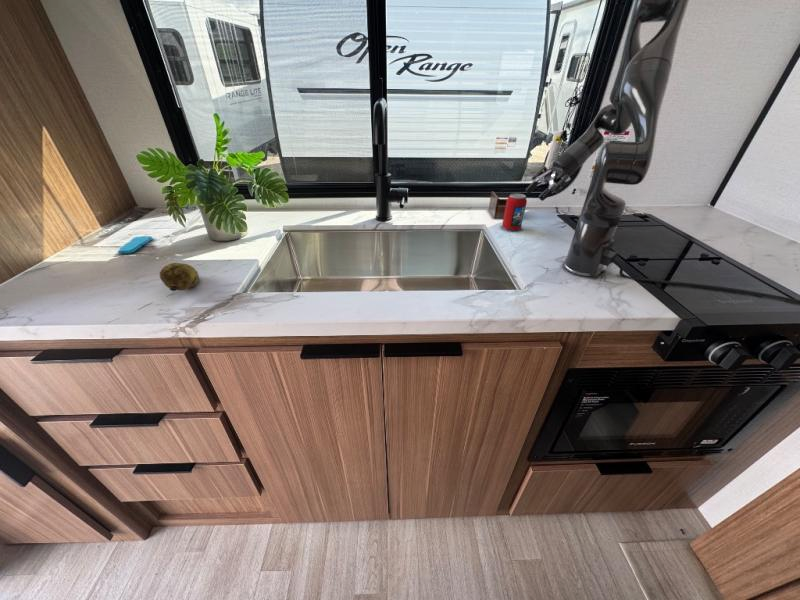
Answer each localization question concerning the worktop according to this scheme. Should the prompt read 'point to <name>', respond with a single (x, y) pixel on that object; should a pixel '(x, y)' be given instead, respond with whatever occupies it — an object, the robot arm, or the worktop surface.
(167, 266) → the potato
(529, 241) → the worktop surface
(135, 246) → the sponge
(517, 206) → the beverage can
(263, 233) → the worktop surface
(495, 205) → the box
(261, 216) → the worktop surface
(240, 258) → the worktop surface
